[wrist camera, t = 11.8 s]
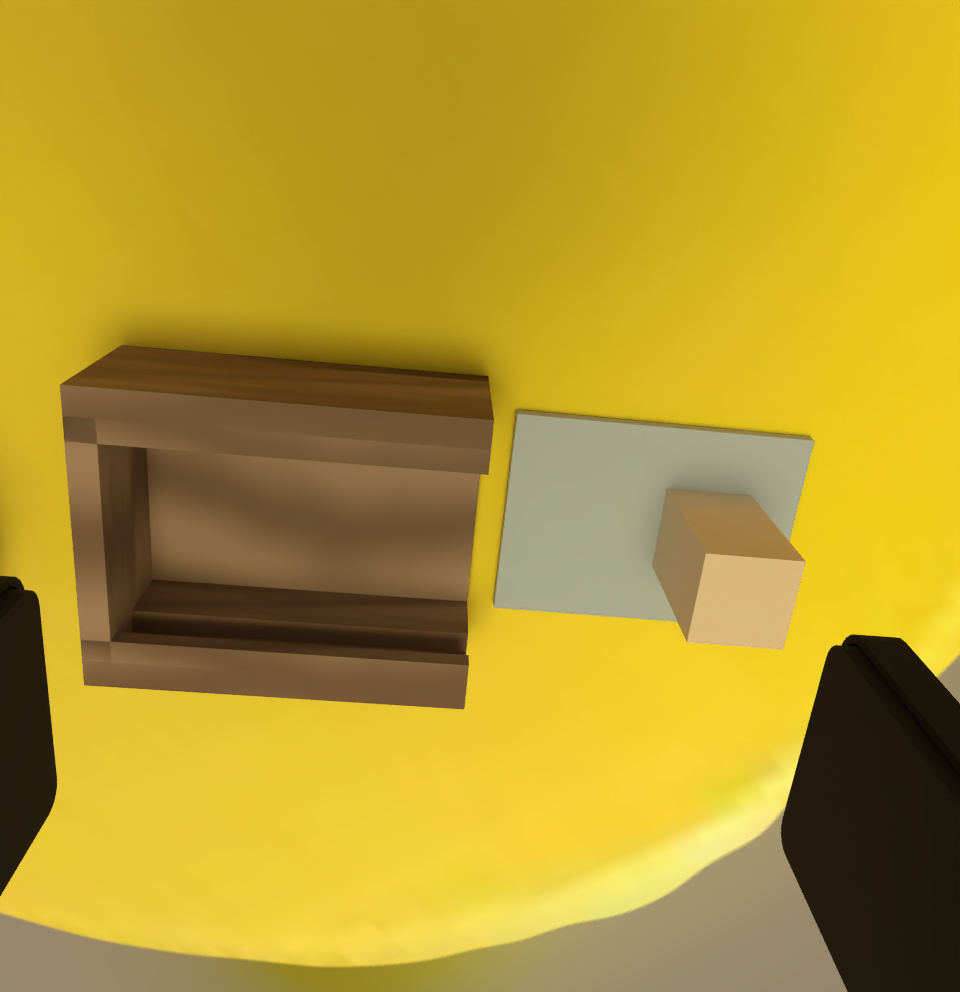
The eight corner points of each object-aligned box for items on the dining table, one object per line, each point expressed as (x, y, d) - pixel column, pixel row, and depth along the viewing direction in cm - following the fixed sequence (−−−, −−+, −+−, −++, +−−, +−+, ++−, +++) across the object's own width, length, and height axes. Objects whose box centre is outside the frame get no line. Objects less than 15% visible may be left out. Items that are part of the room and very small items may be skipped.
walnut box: (121, 345, 39) (60, 384, 33) (488, 376, 40) (493, 420, 34) (135, 608, 44) (84, 685, 38) (462, 630, 45) (464, 709, 39)
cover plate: (516, 407, 41) (529, 467, 34) (806, 434, 42) (881, 498, 35) (492, 597, 45) (500, 689, 37) (760, 618, 46) (820, 712, 38)
